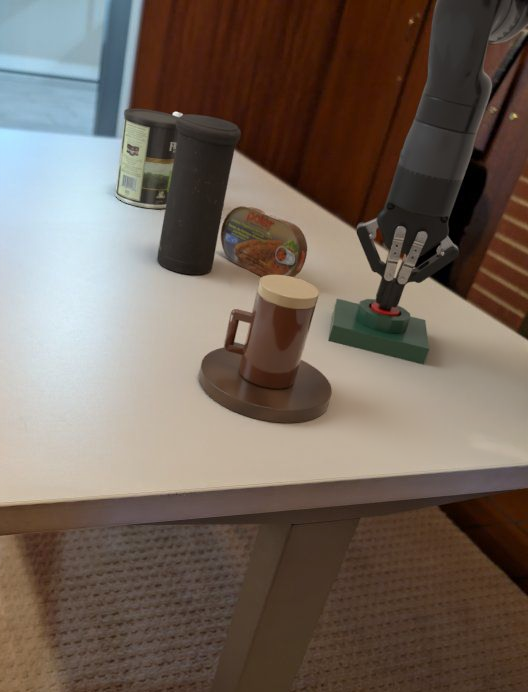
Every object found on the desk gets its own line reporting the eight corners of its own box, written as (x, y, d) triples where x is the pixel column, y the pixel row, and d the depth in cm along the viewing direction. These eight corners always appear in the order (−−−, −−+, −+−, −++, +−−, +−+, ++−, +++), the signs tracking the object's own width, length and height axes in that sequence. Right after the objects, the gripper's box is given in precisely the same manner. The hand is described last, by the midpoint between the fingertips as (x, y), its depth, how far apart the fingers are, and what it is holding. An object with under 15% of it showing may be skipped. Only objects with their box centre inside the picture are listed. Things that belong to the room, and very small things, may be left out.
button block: (419, 334, 101) (429, 307, 99) (423, 365, 93) (434, 335, 91) (332, 313, 102) (340, 285, 100) (328, 341, 94) (336, 311, 92)
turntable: (331, 376, 85) (335, 365, 85) (323, 436, 74) (327, 423, 73) (212, 346, 87) (214, 334, 86) (185, 400, 75) (188, 387, 74)
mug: (297, 370, 81) (321, 283, 76) (291, 394, 76) (316, 303, 71) (225, 351, 82) (244, 264, 77) (214, 374, 77) (233, 283, 72)
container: (207, 257, 113) (234, 115, 103) (219, 279, 106) (250, 129, 95) (151, 250, 111) (172, 105, 101) (159, 272, 104) (183, 119, 93)
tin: (215, 253, 115) (225, 198, 111) (229, 251, 117) (240, 197, 113) (287, 291, 107) (302, 232, 102) (301, 288, 109) (316, 231, 104)
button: (395, 318, 98) (399, 306, 97) (395, 329, 95) (400, 316, 94) (367, 312, 98) (371, 299, 97) (367, 322, 95) (371, 309, 94)
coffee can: (176, 199, 138) (190, 117, 130) (165, 213, 129) (179, 126, 121) (122, 187, 138) (132, 105, 131) (107, 200, 129) (117, 112, 122)
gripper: (374, 160, 84) (331, 305, 93) (493, 187, 82) (438, 331, 92) (374, 149, 90) (334, 286, 99) (485, 174, 89) (434, 310, 98)
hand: (384, 307), depth 95 cm, fingers closed
